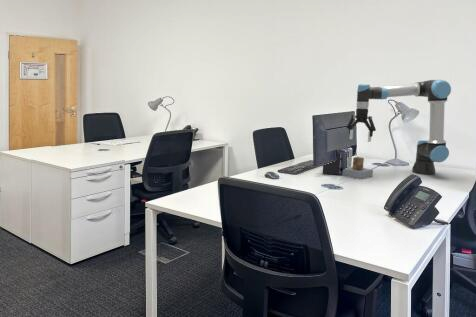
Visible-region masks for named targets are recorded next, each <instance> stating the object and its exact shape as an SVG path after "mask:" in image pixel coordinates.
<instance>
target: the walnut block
mask: <svg viewBox="0 0 476 317" xmlns="http://www.w3.org/2000/svg"><path fill="white" fill-rule="evenodd" d="M364 161H365V158H364V157H360V156H355V157H352V167H353V170H358V171H360V170H363V168H364Z"/></svg>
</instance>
